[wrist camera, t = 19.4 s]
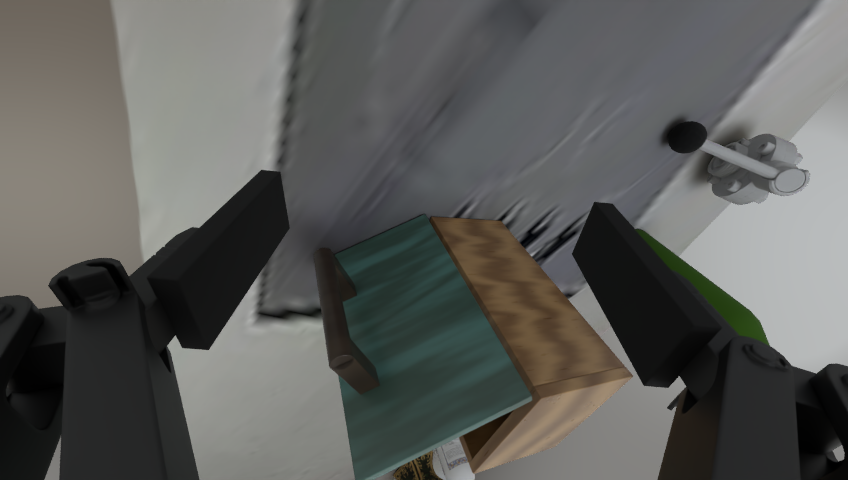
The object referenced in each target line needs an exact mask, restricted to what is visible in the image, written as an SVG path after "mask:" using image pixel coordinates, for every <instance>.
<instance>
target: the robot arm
mask: <svg viewBox="0 0 848 480" xmlns="http://www.w3.org/2000/svg"><path fill="white" fill-rule="evenodd" d="M289 228H290V227H289V221H288V215H287V209H286V203H285V197H284V191H283V185H282V179H281V174H280V172H276V171H266V170H261V171H260V172H259V173H258V174H257V175H256V176H255V177H253V178H252V179H251V180H250V181H249V182H248V183H247V184H246V185H245V186H244V187H243V188H242V189H241V190H240V191H238V192H237V193H236V194H235V195H234V196H233V197H232V198H231V199H230V200H229V201H228V202H227V203H226V204H225V205H223V206H222V207H221V208H220V209H219V210H218V211H217V212H216V213H215V214H214V215H213V216H212V217H211V218H210V219H208V220H207V221H206V222H205V223H204V224H203V225H202V226H201V227H200V228H194V227H192V228H190V229H188V230H186V231H184V232H182V233H180V234H178V235H176V236H175V237H174V238H172V239H171V240H170V241H169V242H168V243H167V244H166V245H165V247H162V248H161V249H160V250H159V251H158V252H157V253H156V255H153V256H152V257H151V258H150V259H149V260H147V261H146V262H145V263H144V264H143V265H142V266H141V267H140V268H138V269H137V270H136V271H135V272H134V273H133V274H132V275H131V276H128V275H127V273H126V271H125V269H124V267H123V266H122V264H121V263H120V261H118V260H115V259H112V258H98V259H92V260H87V261H84V262H81V263H78V264H75V265H72V266H70V267H68V268H66V269H65V270H62V271H61V272H59V273H58V274H57V275H56V276H54V277H53V278H52V279H51V281H50V283H49V285H48V286H49V287H50V289H51V290H52V291H53V293H54V294H55V295H56V297H57V298H58V299H59V301H60V302H61V303H62V305H63V306H58V307H50V308H42V309H38V308H37V307H36V306H35V305H34V303H33V302H32V301H31V300H30V299H29V298H28V297H25V296H20V295H16V296H5V297H0V480H44V479H45V476H46V474H47V471H48V468H49V466H50V463H51V460H52V457H53V455H54V452H55V450H56V447H57V444H58V442H59V439H60V436H61V455H60V479H59V480H199V476H198V471H197V467H196V462H195V458H194V454H193V449H192V445H191V440H190V436H189V432H188V427H187V423H186V418H185V414H184V410H183V405H182V401H181V396H180V392H179V388H178V383H177V379H176V374H175V370H174V366H173V361H172V357H171V353H170V351H169V349H168V347H167V345H168V344H169V343H170V341H171V340H172V339H173V337H174V336H175V335H176V337H177V339H178V340H179V342H180V344H181V346H182V348H190V349H202V350H209V349H210V347H211V346H212V344H213V343H214V341H215V340H216V338H217V337H218V335H219V334H220V332H221V331H222V329H223V328H224V326H225V325H226V323H227V322H228V320H229V319H230V317H231V316H232V314H233V313H234V311H235V309H236V308H237V306H238V305H239V303H240V302H241V300H242V299H243V297H244V296H245V294H246V293H247V291H248V290H249V288H250V287H251V285H252V284H253V282H254V281H255V279H256V278H257V276H258V275H259V273H260V272H261V270H262V269H263V267H264V266H265V264H266V263H267V261H268V260H269V258H270V257H271V255H272V254H273V252H274V251H275V249H276V248H277V246H278V245H279V243H280V242H281V240H282V239H283V237H284V236H285V234H286V233H287V231H288V230H289ZM572 255H573V257H574V259H575V260H576V262H577V264H578V266H579V268H580V270H581V271H582V273H583V275H584V277H585V279H586V281H587V282H588V284H589V286H590V288H591V290H592V292H593V293H594V295H595V297H596V299H597V301H598V303H599V304H600V306H601V308H602V310H603V312H604V314H605V315H606V317H607V319H608V321H609V323H610V325H611V326H612V328H613V330H614V332H615V334H616V336H617V337H618V339H619V341H620V343H621V345H622V347H623V348H624V350H625V352H626V354H627V356H628V358H629V359H630V361H631V363H632V365H633V367H634V368H635V370H636V372H637V374H638V376H639V378H640V379H641V381H642V383H643V385H644V386H654V387H665V388H668V387H669V386H670V385H671V384H672V383H673V382H674V381H675V380H676V378H678V376H680V377H681V379H682V380H683V382H684V383H685V385H686V388H685V389H684V390H683V391H682V392H681V393H680V394H679V395H678V396H677V397H676V398H675V399H674V400H673V401H672V402H671V403H670V405H669V406H668V407H667V408H668V409H670V410H672V409H673V408H674V407H675V406H677V408H676V412H675V415H674V419H673V423H672V427H671V431H670V434H669V438H668V442H667V446H666V450H665V453H664V457H663V462H662V465H661V469H660V472H659V476H658V480H848V366H844V365H840V364H829V365H827V366H826V367H825V368H823V369H822V370H821V371H819V372H818V373H817V374H816V373H813V372H809V371H806V370H803V369H800V368H797V367H793V366H791V364H790V363H789V362H788V361H787V360H786V359H785V357H784V356H783V355H781V354H780V353H779V352H777V351H776V350H775V349H773V348H772V347H770V346H769V345H767V344H765V343H763V342H761V341H759V340H756V339H754V338H751V337H746V336H740V335H739V334H738V333H737V332H736V331H735V330H734V329H733V328H732V327H731V325H730V324H729V323H728V322H727V321H726V320H725V319H724V318H723V317H722V316H721V315H720V313H719V312H718V311H717V310H716V309H715V308H714V307H713V306H712V305H711V304H709V303H708V300H707V299H706V298H705V297H704V296H703V295H702V294H700V292H699V291H698V290H697V288H696V287H695V286H694V285H693V284H692V283H691V282H690V281H689V280H688V279H686V278H685V277H683V276H682V275H680V274H679V273H678V272H676V271H675V270H671V269H670V268H669V267H668V266H667V265H666V264H665V263H664V261H663V260H662V259H661V258H660V257H659V256H658V255H657V254H656V252H655V251H654V250H653V249H652V248H651V247H650V246H649V245H648V243H647V242H646V241H645V240H644V239H643V238H642V237H641V236H640V234H639V233H638V232H637V231H636V230H635V229H634V228H633V227H632V225H631V224H630V223H629V222H628V221H627V220H626V219H625V218H624V216H623V215H622V214H621V213H620V212H619V211H618V210H617V209H616V207H615V206H614V205H613V204H609V203H599V202H594V204H593V206H592V209H591V211H590V213H589V216H588V218H587V220H586V223H585V225H584V227H583V230H582V232H581V234H580V236H579V239H578V241H577V243H576V246H575V248H574V250H573V253H572ZM841 445H842V446H843V449H844V452H845V457H844V460H842V461H839V462H838V461H837V459H836V458H835V455H834V453H833V451H832V450H834V449H835V448H837V447H839V446H841Z"/></svg>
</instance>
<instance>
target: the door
mask: <svg viewBox="0 0 848 480" xmlns="http://www.w3.org/2000/svg"><path fill="white" fill-rule="evenodd" d="M314 263H315V270H316V277H317V284H318V291H319V298H320V305H321V312H322V319H323V326H324V333H325V340H326V347H327V354H328V361H329V367H330V368H331V369H332V370H333V371H335V372H336V373H337V374H338V375H339V382H340V388H341V394H342V400H343V406H344V413H345V419H346V425H347V431H348V438H349V444H350V450H351V456H352V462H353V469H354V475H355V480H374V479H376V478H378V477H380V476H382V475H384V474H386V473H388V472H390V471H392V470H394V469H396V468H398V467H400V466H402V465H404V464H406V463H408V462H410V461H412V460H414V459H416V458H418V457H420V456H422V455H424V454H426V453H428V452H430V451H432V450H434V449H436V448H438V447H440V446H442V445H444V444H446V443H448V442H450V441H452V440H454V439H456V438H458V437H460V436H462V435H464V434H466V433H468V432H470V431H472V430H474V429H476V428H478V427H480V426H482V425H484V424H486V423H488V422H490V421H492V420H494V419H496V418H498V417H500V416H502V415H504V414H506V413H508V412H510V411H512V410H514V409H517V408H519V407H521V406H523V405H525V404H527V403H529V402H531V401H532V395H531V393H530V392H529V390H528V388H527V386H526V385H525V383H524V381H523V380H522V378H521V376H520V375H519V373H518V371H517V369H516V368H515V366H514V364H513V363H512V361H511V359H510V358H509V356H508V354H507V352H506V351H505V349H504V347H503V346H502V344H501V342H500V341H499V339H498V337H497V336H496V334H495V332H494V330H493V329H492V327H491V325H490V324H489V322H488V320H487V319H486V317H485V315H484V313H483V312H482V310H481V308H480V307H479V305H478V303H477V302H476V300H475V298H474V296H473V295H472V293H471V291H470V290H469V288H468V286H467V285H466V283H465V281H464V279H463V278H462V276H461V274H460V273H459V271H458V269H457V268H456V266H455V264H454V262H453V261H452V259H451V257H450V256H449V254H448V252H447V251H446V249H445V247H444V245H443V244H442V242H441V240H440V239H439V237H438V235H437V234H436V232H435V230H434V228H433V227H432V225H431V223H430V222H429V220H428V218H427V217H426V215H425V214H424V215H422V216H420V217H417V218H415V219H413V220H411V221H409V222H406V223H404V224H402V225H400V226H397V227H395V228H393V229H391V230H388V231H386V232H384V233H382V234H380V235H377V236H375V237H373V238H371V239H368V240H366V241H364V242H362V243H360V244H357V245H355V246H353V247H351V248H348V249H346V250H344V251H342V252H339V253H337V254H335V255H334V254H333V252H332V251H331V250H330V249H328V248H320V249H318V250H316V251H315V253H314Z"/></svg>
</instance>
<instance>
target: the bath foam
mask: <svg viewBox="0 0 848 480" xmlns="http://www.w3.org/2000/svg"><path fill="white" fill-rule="evenodd" d="M436 451H437V454H438V457H439V460H440V463H441V466H442V469H443V472H444V475H445V477H446V479H447V480H475V474H473V473H472V470H471V468H470V465H469V462H468V460H467V457H466V455H465V452H464V450H463V447H462V445H461V442H460V441H450V442H448V443H446V444H444V445H442V446H440V447H438V448H436Z"/></svg>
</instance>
